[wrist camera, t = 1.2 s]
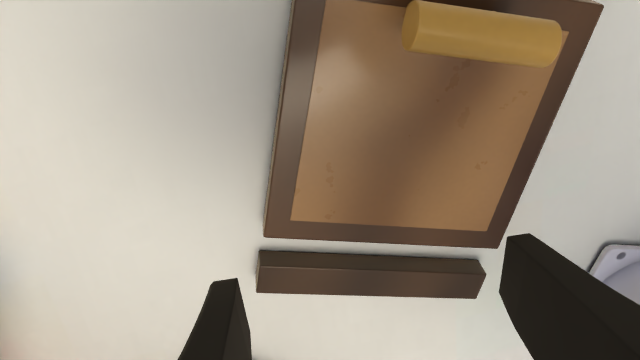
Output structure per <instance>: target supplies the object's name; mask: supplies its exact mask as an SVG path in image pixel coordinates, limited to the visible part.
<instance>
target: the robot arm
mask: <svg viewBox="0 0 640 360" xmlns="http://www.w3.org/2000/svg"><path fill="white" fill-rule="evenodd" d="M499 293H500V296H501V298H502V300H503V303H504V305H505V308H506V310H507V312H508V314H509V317H510V319H511V321H512V323H513V325H514V327H515V329H516V331H517V332H518V334H519V336H520V337H521V339H522V341H523V342H524V344H525V346H526V348H527V349H528V351H529V353H530V354H531V356H532V357H533V359H534V360H640V246H632V245H608V246H606V247H605V248H604V249H603V250H602V251H601V253H600V255H599V257H598V258H597V260H596V262H595V264H594V265H593V267H592V269H591V271H590V272H589V273H587V272H586V271H584V270H583V269H581V268H580V267H578V266H577V265H575V264H574V263H573V262H571V261H570V260H568V259H567V258H565V257H564V256H562V255H561V254H559V253H558V252H556V251H555V250H554V249H552V248H551V247H549V246H548V245H546V244H545V243H543V242H542V241H540V240H539V239H537V238H536V237H534V236H533V235H531V234H530V233H528V234H521V235H515V236H508V237H507V242H506V248H505V255H504V262H503V269H502V275H501V282H500V289H499ZM178 360H252V355H251V338H250V329H249V325H248V321H247V317H246V312H245V308H244V304H243V300H242V296H241V292H240V287H239V283H238V279H237V278H234V279H227V280H221V281H214V282H213V283H212V284H211V285H210V288H209V291H208V294H207V296H206V299H205V302H204V304H203V307H202V309H201V312H200V314H199V316H198V319H197V321H196V323H195V326H194V328H193V330H192V332H191V334H190V336H189V338H188V340H187V342H186V344H185V347H184V349H183V351H182V353H181V355H180V356H179V358H178Z"/></svg>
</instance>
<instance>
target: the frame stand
mask: <svg viewBox="0 0 640 360" xmlns="http://www.w3.org/2000/svg"><path fill="white" fill-rule="evenodd" d="M485 277H486V273H485V271H484V269H483V268H482V266H481V264H480V263H479V261H478V260H466V259H443V258H420V257H397V256H374V255H351V254H328V253H305V252H282V251H259V254H258V262H257V270H256V292H257V293H282V294H318V295H355V296H392V297H428V298H465V299H476V298H477V295H478V293H479V291H480V288H481V286H482V284H483V282H484V279H485Z"/></svg>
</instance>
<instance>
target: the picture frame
mask: <svg viewBox="0 0 640 360" xmlns="http://www.w3.org/2000/svg"><path fill="white" fill-rule="evenodd" d="M603 8H604V5H602V4H600V3H597V2H595V1H592V0H292V4H291V11H290V19H289V27H288V35H287V42H286V50H285V58H284V65H283V73H282V81H281V89H280V96H279V104H278V112H277V119H276V127H275V135H274V143H273V150H272V158H271V166H270V173H269V181H268V189H267V197H266V204H265V212H264V220H263V236H264V237H266V238H287V239H307V240H328V241H348V242H369V243H389V244H410V245H430V246H450V247H471V248H491V249H497V248H498V247H499V245H500V242H501V240H502V238H503V235H504V233H505V231H506V229H507V226H508V224H509V222H510V220H511V217H512V215H513V213H514V210H515V208H516V206H517V204H518V201H519V199H520V197H521V194H522V192H523V190H524V188H525V185H526V183H527V181H528V179H529V176H530V174H531V172H532V169H533V167H534V165H535V163H536V160H537V158H538V156H539V154H540V151H541V149H542V147H543V144H544V142H545V140H546V138H547V135H548V133H549V131H550V128H551V126H552V124H553V122H554V119H555V117H556V115H557V113H558V110H559V108H560V106H561V103H562V101H563V99H564V97H565V94H566V92H567V90H568V87H569V85H570V83H571V81H572V78H573V76H574V74H575V72H576V69H577V67H578V65H579V62H580V60H581V58H582V56H583V53H584V51H585V49H586V47H587V44H588V42H589V40H590V37H591V35H592V33H593V31H594V28H595V26H596V24H597V21H598V19H599V17H600V15H601V12H602V10H603Z"/></svg>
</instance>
